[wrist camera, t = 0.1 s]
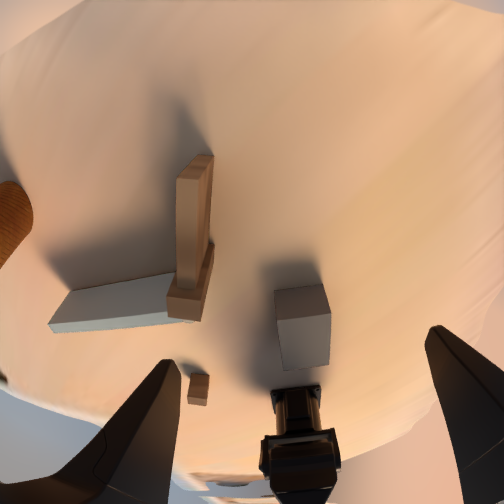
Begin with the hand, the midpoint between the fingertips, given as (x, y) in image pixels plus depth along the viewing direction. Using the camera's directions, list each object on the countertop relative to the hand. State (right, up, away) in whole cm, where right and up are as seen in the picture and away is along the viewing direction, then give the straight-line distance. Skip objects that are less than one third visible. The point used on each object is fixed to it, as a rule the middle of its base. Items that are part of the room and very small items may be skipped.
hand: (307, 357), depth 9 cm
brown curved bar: (-7, -1, +18) cm, 19 cm away
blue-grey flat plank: (-13, 0, +17) cm, 21 cm away
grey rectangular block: (+3, -3, +19) cm, 19 cm away
